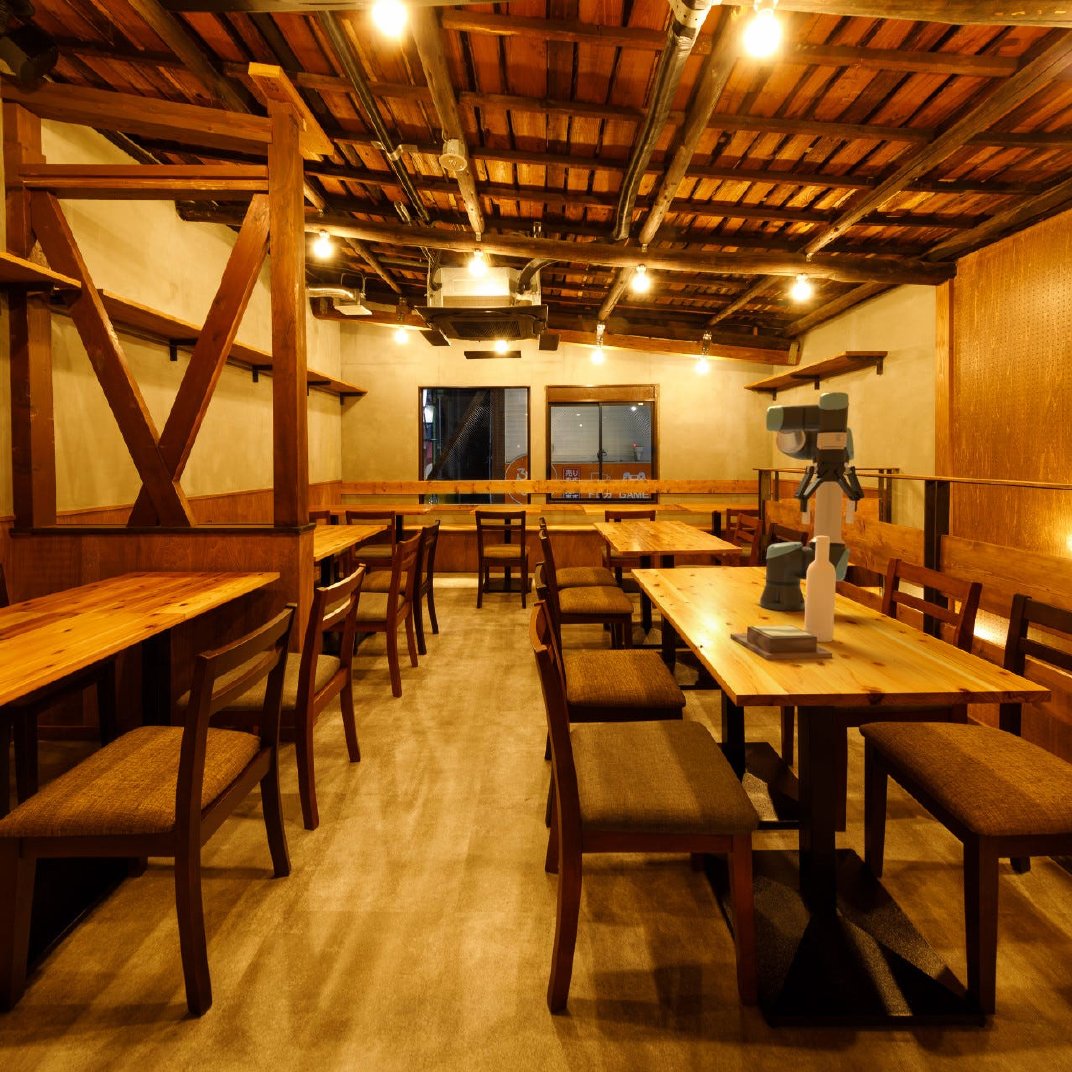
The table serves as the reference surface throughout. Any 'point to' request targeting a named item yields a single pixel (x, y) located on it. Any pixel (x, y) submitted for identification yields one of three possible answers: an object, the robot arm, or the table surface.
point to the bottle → (820, 593)
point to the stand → (781, 642)
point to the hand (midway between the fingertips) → (827, 523)
